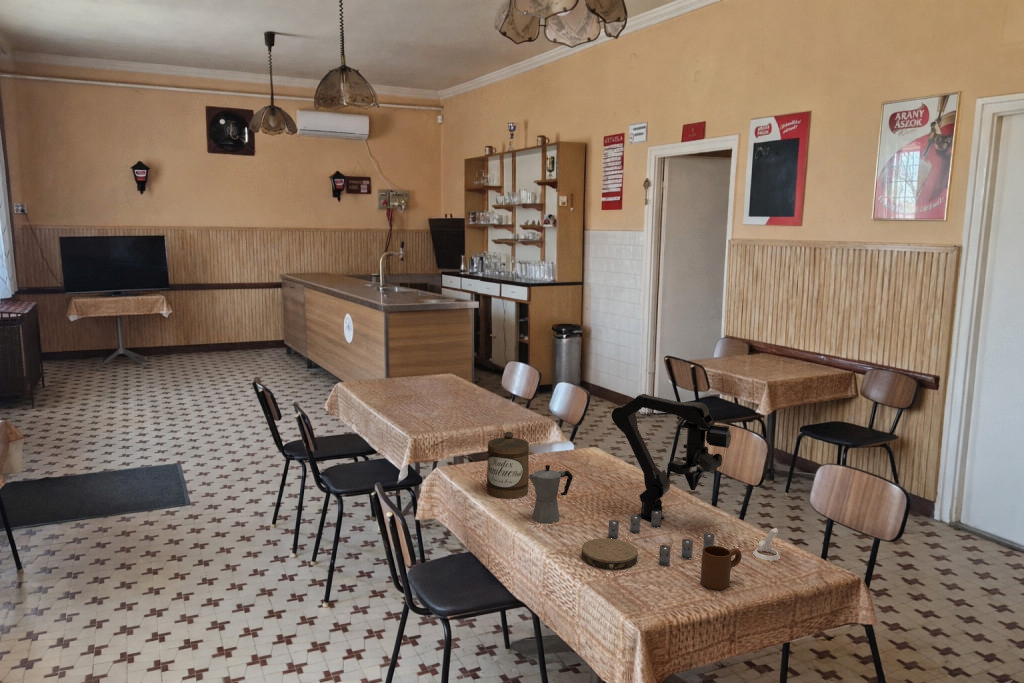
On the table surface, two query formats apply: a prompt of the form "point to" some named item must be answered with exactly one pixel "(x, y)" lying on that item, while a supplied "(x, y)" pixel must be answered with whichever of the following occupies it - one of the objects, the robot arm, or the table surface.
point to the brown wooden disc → (609, 554)
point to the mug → (718, 566)
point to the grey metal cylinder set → (664, 549)
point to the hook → (767, 546)
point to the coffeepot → (548, 493)
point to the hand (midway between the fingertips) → (692, 490)
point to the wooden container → (508, 467)
